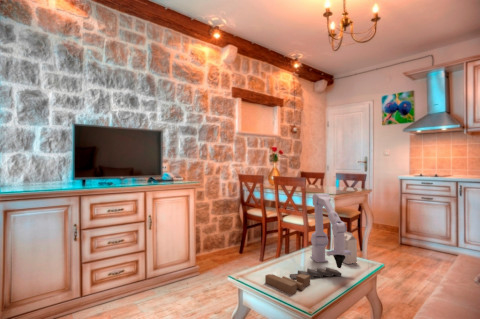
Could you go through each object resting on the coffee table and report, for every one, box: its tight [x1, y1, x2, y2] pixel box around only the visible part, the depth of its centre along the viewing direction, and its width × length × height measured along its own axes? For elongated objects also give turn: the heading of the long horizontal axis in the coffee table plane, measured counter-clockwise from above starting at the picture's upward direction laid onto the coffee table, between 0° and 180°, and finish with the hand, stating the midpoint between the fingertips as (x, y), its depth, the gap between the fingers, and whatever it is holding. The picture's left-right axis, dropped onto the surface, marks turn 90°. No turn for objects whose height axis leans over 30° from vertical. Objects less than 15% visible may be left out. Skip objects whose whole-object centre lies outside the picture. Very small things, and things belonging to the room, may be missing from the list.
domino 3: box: [306, 268, 324, 278], centre depth 149 cm, size 2×5×7 cm
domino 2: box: [297, 270, 314, 279], centre depth 148 cm, size 2×5×7 cm
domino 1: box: [289, 273, 299, 281], centre depth 148 cm, size 2×5×7 cm
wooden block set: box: [264, 273, 311, 296], centre depth 140 cm, size 17×6×18 cm
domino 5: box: [325, 267, 342, 277], centre depth 151 cm, size 2×5×7 cm
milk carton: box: [343, 231, 358, 265], centre depth 172 cm, size 7×7×19 cm
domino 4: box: [316, 267, 334, 278], centre depth 150 cm, size 2×5×7 cm
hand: (339, 267), depth 152 cm, fingers closed
